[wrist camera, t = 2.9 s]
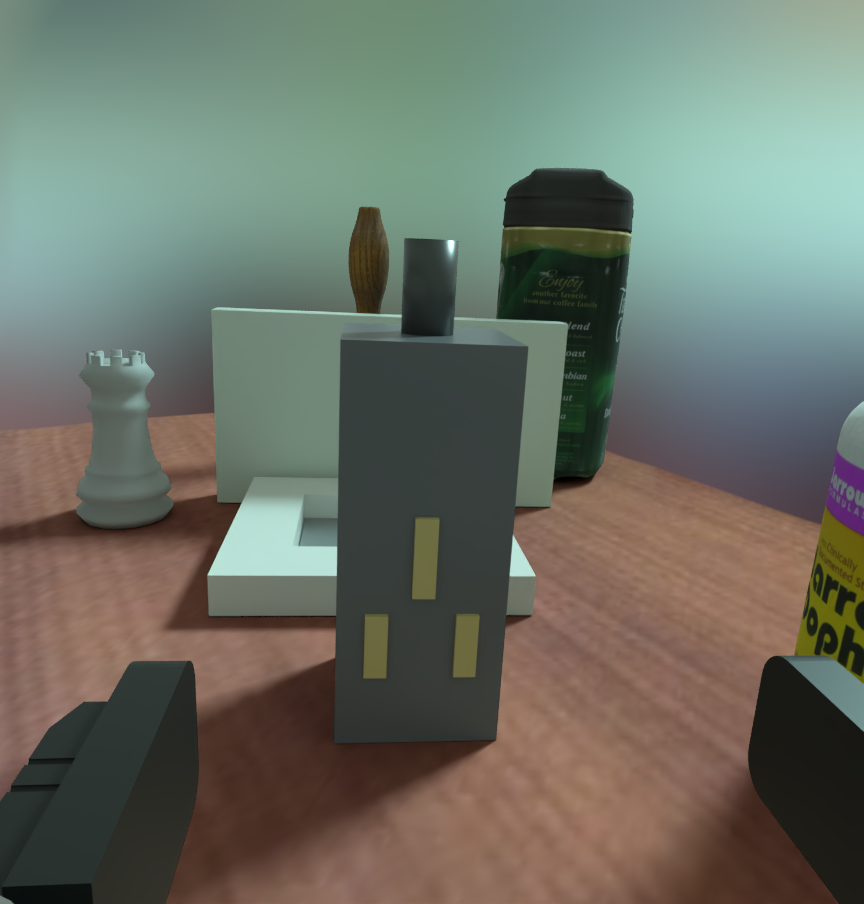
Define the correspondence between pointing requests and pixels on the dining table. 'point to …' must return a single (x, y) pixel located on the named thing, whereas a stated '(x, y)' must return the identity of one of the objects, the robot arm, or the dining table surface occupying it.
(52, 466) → the dining table surface
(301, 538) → the socket
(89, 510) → the rook chess piece
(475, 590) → the plug
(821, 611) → the supplement bottle
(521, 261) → the coffee jar
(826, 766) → the robot arm
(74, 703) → the dining table surface
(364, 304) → the hand bell
